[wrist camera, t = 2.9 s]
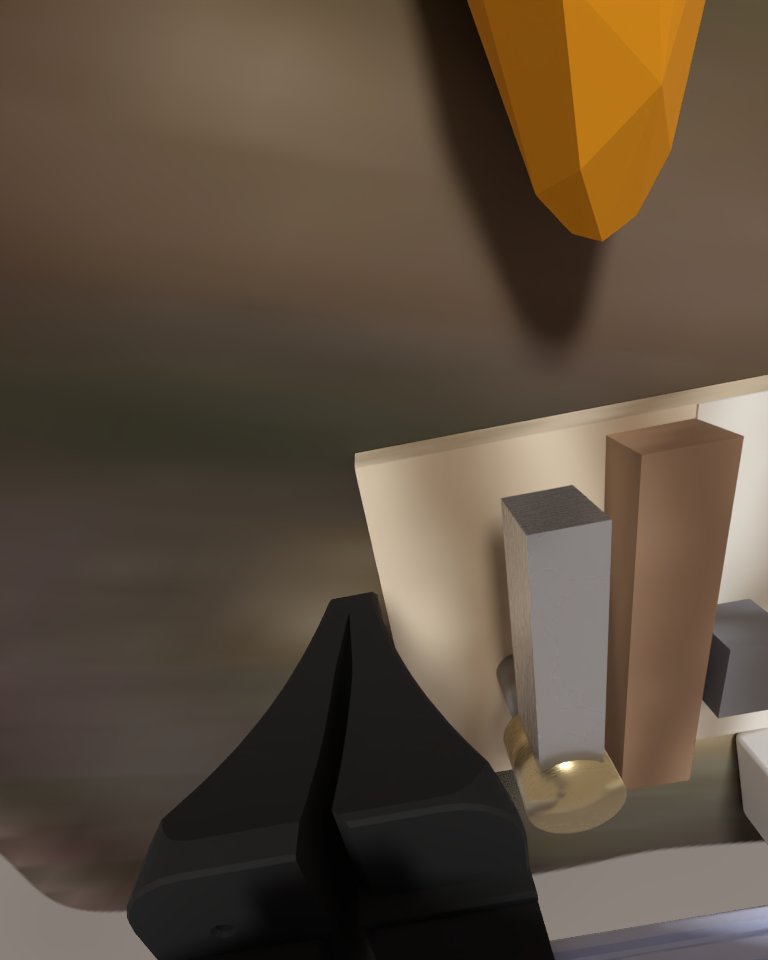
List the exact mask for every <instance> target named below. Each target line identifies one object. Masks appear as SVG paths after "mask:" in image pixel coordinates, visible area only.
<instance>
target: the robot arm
mask: <svg viewBox="0 0 768 960" xmlns="http://www.w3.org/2000/svg"><path fill="white" fill-rule="evenodd" d="M127 918H128V921H129V923H130V925H131V927H132V928H133V930H134V932H135V933H136V935H137V936H138V937H139V938H140V939H141V940H142V942H143V943H144V944H145V945H146V946H147V947H148V949H149V950H150V951H151V952H152V954H153V955H154V956H155V957H156V958H157V959H158V960H768V905H764V906H759V907H753V908H746V909H740V910H734V911H728V912H722V913H716V914H711V915H704V916H698V917H692V918H686V919H679V920H674V921H668V922H661V923H655V924H649V925H643V926H638V927H631V928H625V929H619V930H613V931H607V932H601V933H595V934H588V935H582V936H576V937H570V938H565V939H558V940H552V941H549V938H548V934H547V931H546V927H545V924H544V921H543V917H542V914H541V911H540V907H539V904H538V895H537V891H536V888H535V884H534V881H533V878H532V874H531V871H530V867H529V856H528V845H527V836H526V832H525V828H524V825H523V823H522V820H521V818H520V816H519V813H518V811H517V809H516V807H515V805H514V803H513V801H512V800H511V798H510V796H509V794H508V793H507V791H506V789H505V788H504V786H503V784H502V783H501V781H500V779H499V778H498V776H497V775H496V773H495V772H494V770H493V768H492V767H491V765H490V763H489V762H488V761H487V760H486V759H485V758H484V757H483V756H482V755H481V754H480V753H479V752H477V751H476V750H475V749H474V748H473V747H472V746H471V745H470V744H469V743H468V742H467V741H466V740H465V739H464V738H463V737H462V736H461V735H460V734H459V733H458V732H457V731H456V730H455V728H454V727H453V726H452V725H451V724H450V723H449V722H448V721H447V720H446V718H445V717H444V716H443V715H442V714H441V713H440V711H439V710H438V709H437V708H436V707H435V705H434V704H433V703H432V702H431V701H430V699H429V698H428V697H427V696H426V694H425V693H424V692H423V690H422V689H421V688H420V686H419V685H418V683H417V682H416V680H415V679H414V678H413V676H412V675H411V673H410V672H409V670H408V668H407V667H406V665H405V664H404V662H403V660H402V659H401V657H400V655H399V653H398V652H397V650H396V648H395V646H394V644H393V642H392V640H391V638H390V636H389V634H388V632H387V630H386V628H385V625H384V623H383V619H382V615H381V610H380V606H379V602H378V598H377V594H375V593H373V592H369V593H364V594H359V595H353V596H348V597H342V598H337V599H332V600H331V601H330V603H329V604H328V607H327V609H326V611H325V613H324V616H323V618H322V620H321V622H320V624H319V626H318V628H317V630H316V632H315V634H314V636H313V638H312V640H311V642H310V644H309V646H308V647H307V649H306V651H305V653H304V655H303V657H302V658H301V660H300V662H299V663H298V665H297V667H296V668H295V670H294V672H293V673H292V675H291V677H290V678H289V680H288V681H287V683H286V685H285V686H284V688H283V689H282V691H281V692H280V693H279V695H278V696H277V698H276V699H275V701H274V702H273V703H272V705H271V706H270V707H269V709H268V710H267V712H266V713H265V714H264V715H263V717H262V718H261V719H260V720H259V722H258V723H257V724H256V725H255V727H254V728H253V729H252V730H251V732H250V733H249V734H248V735H247V736H246V738H245V739H244V740H243V741H242V742H241V743H240V745H239V746H238V747H237V748H236V749H235V750H234V751H233V752H232V753H231V754H230V755H229V756H228V758H227V759H226V760H225V761H224V762H223V763H222V764H221V765H220V766H219V767H218V768H217V769H216V770H215V771H214V772H213V773H212V774H211V775H210V776H209V777H208V778H207V779H206V780H205V781H204V782H203V783H202V784H201V785H200V786H199V787H197V788H196V789H195V790H194V791H193V792H192V793H191V794H190V795H189V796H188V797H186V798H185V799H184V800H183V801H182V802H181V803H180V804H179V805H178V806H177V807H175V808H174V809H173V810H172V811H171V812H170V813H169V814H168V815H166V816H165V817H164V818H163V819H162V820H161V822H160V825H159V827H158V829H157V831H156V833H155V836H154V838H153V840H152V842H151V844H150V847H149V849H148V852H147V854H146V857H145V859H144V862H143V865H142V867H141V870H140V873H139V875H138V878H137V881H136V883H135V886H134V889H133V891H132V894H131V897H130V899H129V902H128V905H127Z"/></svg>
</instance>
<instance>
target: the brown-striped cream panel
mask: <svg viewBox="0 0 768 960" xmlns="http://www.w3.org/2000/svg"><path fill="white" fill-rule="evenodd" d="M355 472H356V476H357V480H358V485H359V489H360V494H361V498H362V503H363V507H364V511H365V516H366V520H367V525H368V529H369V534H370V538H371V542H372V547H373V551H374V556H375V560H376V565H377V569H378V574H379V578H380V582H381V587H382V591H383V596H384V600H385V605H386V609H387V613H388V618H389V622H390V627H391V631H392V636H393V640H394V644H395V648H396V650H397V652H398V653H399V655H400V657H401V659H402V660H403V662H404V664H405V665H406V667H407V668H408V670H409V672H410V673H411V675H412V676H413V678H414V679H415V680H416V682H417V683H418V685H419V686H420V688H421V689H422V690H423V692H424V693H425V694H426V696H427V697H428V698H429V699H430V701H431V702H432V703H433V704H434V705H435V707H436V708H437V709H438V710H439V711H440V713H441V714H442V715H443V716H444V717H445V718H446V720H447V721H448V722H449V723H450V724H451V725H452V726H453V727H454V728H455V730H456V731H457V732H458V733H459V734H460V735H461V736H462V737H463V738H464V739H465V740H466V741H467V742H468V743H469V744H470V745H471V746H472V747H473V748H474V749H475V750H476V751H477V752H479V753H480V754H481V755H482V756H483V757H484V758H485V759H486V760H487V761H488V762H489V763H490V765H491V767H492V768H493V770H494V772H500V771H505V770H511V769H512V767H511V764H510V761H509V758H508V754H507V751H506V748H505V745H504V741H503V735H504V731H505V728H506V727H507V725H508V723H509V722H510V721H511V720H512V719H513V718H514V717H515V716H516V715H517V714H518V705H517V693H516V681H515V668H514V656H513V644H512V632H511V620H510V607H509V595H508V583H507V571H506V559H505V546H504V534H503V522H502V510H501V498H505V497H510V496H515V495H521V494H526V493H532V492H537V491H542V490H548V489H553V488H558V487H564V486H569V485H574V486H575V487H576V488H577V489H578V490H579V491H580V492H581V493H583V494H584V495H585V496H586V497H587V498H588V499H589V500H590V501H592V502H593V503H594V504H595V505H596V506H597V507H598V508H600V509H601V510H602V511H603V512H604V513H605V514H606V515H607V516H609V517H610V518H611V519H612V536H611V565H610V595H609V624H608V654H607V683H606V713H605V742H604V748H605V749H606V751H607V753H608V755H609V757H610V759H611V761H612V762H613V764H614V766H615V768H616V770H617V772H618V773H619V775H620V777H621V779H622V781H623V783H624V785H625V786H626V790H633V789H638V788H644V787H650V786H656V785H662V784H668V783H674V782H679V781H685V780H689V779H690V773H691V767H692V760H693V754H694V748H695V741H696V740H698V739H703V738H709V737H715V736H721V735H727V734H732V733H738V732H744V731H750V730H756V729H761V728H767V727H768V375H765V376H760V377H754V378H749V379H744V380H739V381H733V382H728V383H723V384H718V385H712V386H707V387H702V388H697V389H691V390H686V391H681V392H676V393H670V394H665V395H660V396H655V397H649V398H644V399H639V400H634V401H628V402H623V403H618V404H613V405H607V406H602V407H597V408H592V409H586V410H581V411H576V412H571V413H565V414H560V415H555V416H550V417H544V418H539V419H534V420H529V421H523V422H518V423H513V424H508V425H502V426H497V427H492V428H487V429H481V430H476V431H471V432H466V433H460V434H455V435H450V436H445V437H439V438H434V439H429V440H424V441H418V442H413V443H408V444H403V445H397V446H392V447H387V448H381V449H376V450H371V451H366V452H360V453H355Z"/></svg>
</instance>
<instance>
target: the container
mask: <svg viewBox="0 0 768 960" xmlns="http://www.w3.org/2000/svg"><path fill="white" fill-rule="evenodd" d="M736 744H737V754H738V763H739V773H740V783H741V792H742V802H743V811H744V813H745V815H746V816H747V817H748V819H749V820H750V821H751V823H752V824H753V825H754V827H755V828H756V830H757V831H758V832H759V834H760V835H761V836H762V838H763V839H764V840H765V842H766V843H767V844H768V727H767V728H761V729H756V730H750V731H744V732H739V733H738V734H737V736H736Z"/></svg>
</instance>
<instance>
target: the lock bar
mask: <svg viewBox="0 0 768 960" xmlns="http://www.w3.org/2000/svg"><path fill="white" fill-rule="evenodd" d="M501 510H502V522H503V534H504V546H505V559H506V571H507V583H508V595H509V607H510V620H511V632H512V644H513V656H514V668H515V681H516V693H517V705H518V714H517V715H516V716H515V717H514V718H513V719H512V720H511V721H510V722H509V723H508V725H507V727H506V728H505V731H504V735H503V741H504V745H505V748H506V751H507V754H508V758H509V761H510V764H511V767H512V770H513V773H514V776H515V779H516V782H517V785H518V788H519V792H520V795H521V798H522V801H523V804H524V807H525V810H526V813H527V816H528V818H529V820H530V821H531V823H532V824H534V825H535V826H536V827H538V828H540V829H542V830H544V831H548V832H552V833H575V832H580V831H585V830H588V829H591V828H594V827H596V826H598V825H601V824H602V823H604V822H606V821H608V820H609V819H610V818H612V817H613V816H614V815H615V814H616V813H617V812H618V811H619V810H620V809H621V808H622V806H623V804H624V803H625V800H626V796H627V790H626V786H625V785H624V783H623V781H622V779H621V777H620V775H619V773H618V772H617V770H616V768H615V766H614V764H613V762H612V761H611V759H610V757H609V755H608V753H607V751H606V749H605V748H604V742H605V713H606V683H607V654H608V624H609V595H610V565H611V536H612V519H611V518H610V517H609V516H607V515H606V514H605V513H604V512H603V511H602V510H601V509H600V508H598V507H597V506H596V505H595V504H594V503H593V502H592V501H590V500H589V499H588V498H587V497H586V496H585V495H584V494H583V493H581V492H580V491H579V490H578V489H577V488H576V487H575V486H574V485H569V486H564V487H558V488H553V489H548V490H542V491H537V492H532V493H526V494H521V495H515V496H510V497H505V498H501Z"/></svg>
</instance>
